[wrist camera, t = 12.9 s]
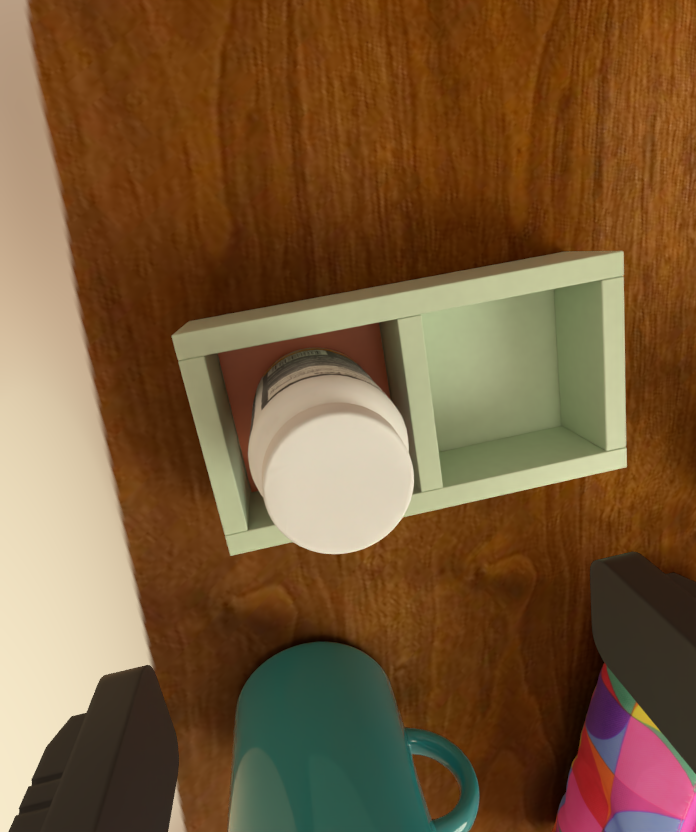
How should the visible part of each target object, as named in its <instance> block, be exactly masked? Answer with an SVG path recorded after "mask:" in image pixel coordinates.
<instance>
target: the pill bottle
mask: <svg viewBox="0 0 696 832" xmlns="http://www.w3.org/2000/svg"><path fill="white" fill-rule="evenodd" d="M248 461H249V467H250V472H251V475H252V478H253V481H254V483H255V485H256V487H257V489H258V490H259V492H260V494H261V495H262V496H263V498H264V502H265V506H266V509H267V511H268V514H269V516H270V518H271V520H272V521H273V523H274V524H275V525H276V527H277V528H278V529H279V530H280V531H281V532H282V533H283V534H284V535H285V536H286V537H287V538H288V539H290V540H291V541H293V542H294V543H296V544H297V545H299V546H301V547H303V548H306V549H308V550H311V551H315V552H318V553H324V554H343V553H350V552H355V551H358V550H361V549H364V548H366V547H369V546H371V545H373V544H375V543H376V542H378V541H380V540H381V539H382V538H384V537H385V536H386V535H387V534H389V533H390V532H391V531H392V530H393V529H394V528H395V527H396V525H397V524H398V523H399V521H400V520H401V519H402V517H403V516H404V514H405V512H406V511H407V508H408V506H409V503H410V501H411V497H412V493H413V487H414V470H413V465H412V461H411V458H410V455H409V443H408V435H407V429H406V426H405V423H404V419H403V417H402V415H401V413H400V412H399V410H398V408H397V407H396V406H395V405H394V403H393V402H392V401H391V400H390V399H389V398H388V396H387V395H386V394H385V393H384V392H383V391H382V390H381V389H380V387H379V386H378V385H377V384H376V383H375V382H374V381H373V380H372V378H371V377H370V376H369V375H368V374H367V373H366V372H365V371H364V370H363V369H362V368H361V367H360V366H359V365H358V364H357V363H356V362H355V361H353V360H352V359H351V358H349V357H347V356H346V355H344V354H342V353H340V352H337V351H334V350H331V349H325V348H305V349H300V350H297V351H294V352H291V353H289V354H287V355H285V356H283V357H282V358H280V359H279V360H277V361H276V362H275V363H274V364H273V365H272V366H271V367H270V368H269V369H268V370H267V371H266V372H265V374H264V375H263V377H262V379H261V380H260V382H259V384H258V387H257V390H256V393H255V397H254V401H253V407H252V418H251V428H250V436H249V443H248Z"/></svg>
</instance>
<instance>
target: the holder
mask: <svg viewBox="0 0 696 832" xmlns="http://www.w3.org/2000/svg"><path fill="white" fill-rule="evenodd" d="M623 275H624V252H623V251H573V252H560V253H554V254H549V255H544V256H538V257H533V258H528V259H522V260H517V261H511V262H506V263H501V264H495V265H490V266H484V267H479V268H474V269H468V270H463V271H457V272H452V273H447V274H441V275H436V276H430V277H425V278H420V279H414V280H409V281H403V282H398V283H393V284H387V285H382V286H377V287H371V288H366V289H360V290H355V291H350V292H344V293H339V294H333V295H328V296H323V297H317V298H312V299H306V300H301V301H296V302H290V303H285V304H279V305H274V306H269V307H263V308H258V309H253V310H247V311H242V312H236V313H231V314H226V315H220V316H215V317H209V318H204V319H199V320H193V321H189V322H187V323H186V324H185V325H184V326H183V327H181V328H180V329H179V330H178V331H177V332H175V333H174V334H173V335H172V340H173V344H174V348H175V351H176V355H177V359H178V360H179V362H178V363H179V366H180V370H181V374H182V378H183V381H184V385H185V389H186V393H187V396H188V400H189V404H190V407H191V411H192V415H193V419H194V422H195V426H196V430H197V434H198V437H199V441H200V445H201V449H202V452H203V456H204V460H205V463H206V467H207V471H208V475H209V478H210V482H211V486H212V490H213V493H214V497H215V501H216V504H217V508H218V512H219V516H220V519H221V523H222V527H223V531H224V534H225V538H226V542H227V546H228V549H229V553H230V555H231V556H232V555H236V554H241V553H245V552H250V551H254V550H259V549H263V548H268V547H272V546H277V545H281V544H286V543H290V542H293V541H291V540H290V539H288V538H287V537H286V536H285V535H284V534H283V533H282V532H281V531H280V530H279V529H278V528H277V527H276V525H275V524H274V523H273V521H272V520H271V518H270V516H269V514H268V511H267V509H266V506H265V502H264V498H263V496H262V495H261V494H260V492H259V490H258V489H257V487H256V485H255V483H254V481H253V478H252V475H251V472H250V467H249V461H248V443H249V436H250V428H251V418H252V407H253V401H254V397H255V393H256V390H257V387H258V384H259V382H260V380H261V379H262V377H263V375H264V374H265V372H266V371H267V370H268V369H269V368H270V367H271V366H272V365H273V364H274V363H275V362H276V361H277V360H279V359H280V358H282V357H283V356H285V355H287V354H289V353H291V352H294V351H297V350H300V349H305V348H325V349H331V350H334V351H337V352H340V353H342V354H344V355H346V356H347V357H349V358H351V359H352V360H353V361H355V362H356V363H357V364H358V365H359V366H360V367H361V368H362V369H363V370H364V371H365V372H366V373H367V374H368V375H369V376H370V377H371V378H372V380H373V381H374V382H375V383H376V384H377V385H378V386H379V387H380V389H381V390H382V391H383V392H384V393H385V394H386V395H387V396H388V398H389V399H390V400H391V401H392V402H393V403H394V405H395V406H396V407H397V408H398V410H399V412H400V413H401V415H402V417H403V419H404V423H405V426H406V429H407V435H408V443H409V455H410V458H411V461H412V465H413V470H414V487H413V493H412V497H411V501H410V503H409V506H408V508H407V511H406V512H405V514H404V516H403V517H406V516H411V515H415V514H420V513H424V512H429V511H433V510H437V509H442V508H446V507H451V506H455V505H460V504H464V503H469V502H473V501H478V500H482V499H487V498H491V497H496V496H500V495H504V494H509V493H513V492H518V491H522V490H527V489H531V488H536V487H540V486H545V485H549V484H554V483H558V482H563V481H567V480H571V479H576V478H580V477H585V476H589V475H594V474H598V473H603V472H607V471H612V470H616V469H621V468H625V467H627V448H626V395H625V328H624V277H623Z"/></svg>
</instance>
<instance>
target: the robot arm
mask: <svg viewBox="0 0 696 832" xmlns="http://www.w3.org/2000/svg"><path fill="white" fill-rule="evenodd" d="M590 589H591V618H592V633H593V638H594V641H595V644H596V647H597V650H598V652H599V654H600V656H601V658H602V660H603V661H604V663H605V664H606V665H607V667H608V668H609V669H610V671H611V672H612V673H613V674H614V675H615V677H616V678H617V679H618V680H619V681H620V683H621V684H622V685H623V686H624V688H625V689H626V690H627V691H628V692H629V694H630V695H631V696H632V697H633V698H634V700H635V701H636V702H637V703H638V705H639V706H640V707H641V708H642V709H643V711H644V712H645V713H646V714H647V715H648V717H649V718H650V719H651V720H652V722H653V723H654V724H655V725H656V726H657V728H658V729H659V730H660V731H661V733H662V734H663V735H664V736H665V737H666V739H667V740H668V741H669V742H670V743H671V745H672V746H673V747H674V748H675V750H676V751H677V752H678V753H679V754H680V756H681V757H682V758H683V759H684V760H685V762H686V763H687V764H688V765H689V767H690V768H691V769H692V770H693V771H694V773H695V774H696V582H694V581H692V580H690V579H688V578H685V577H683V576H681V575H678V574H676V573H674V572H673V573H669V574H665V573H663V572H662V571H661V570H660V569H658V568H657V567H656V566H655V565H653V564H652V563H651V562H650V561H649V560H647V559H646V558H645V557H644V556H642V555H641V554H639V553H637V552H629V553H624V554H620V555H616V556H612V557H608V558H603V559H599V560H595V561H593V562H592V564H591V567H590ZM178 766H179V753H178V743H177V737H176V733H175V729H174V726H173V723H172V721H171V718H170V715H169V712H168V709H167V706H166V703H165V700H164V697H163V694H162V691H161V689H160V686H159V683H158V680H157V677H156V674H155V672H154V670H153V668H152V667H151V666H150V665H146V666H142V667H138V668H133V669H129V670H125V671H121V672H116V673H113V674H108V675H104V676H103V677H102V678H101V679H100V681H99V683H98V685H97V688H96V690H95V693H94V695H93V698H92V700H91V703H90V705H89V708H88V711H87V713H85V714H80V715H76V716H72V717H71V718H70V719H69V720H68V721H67V723H66V724H65V725H64V726H63V728H62V729H61V730H60V731H59V732H58V734H57V735H56V736H55V737H54V738H53V740H52V741H51V742H50V743H49V744H48V746H47V747H46V749H45V751H44V753H43V756H42V758H41V760H40V763H39V765H38V767H37V769H36V771H35V774H34V776H33V778H32V786H30V787H28V789H27V791H26V794H25V796H24V799H23V801H22V803H21V805H20V807H19V815H17V816H15V818H14V821H13V823H12V825H11V828H10V830H9V832H168V829H169V823H170V817H171V810H172V805H173V799H174V793H175V787H176V782H177V776H178Z"/></svg>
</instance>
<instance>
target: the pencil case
mask: <svg viewBox="0 0 696 832" xmlns="http://www.w3.org/2000/svg"><path fill="white" fill-rule="evenodd" d="M552 832H696V774H695V773H694V771H693V770H692V769H691V768H690V767H689V765H688V764H687V763H686V762H685V760H684V759H683V758H682V757H681V756H680V754H679V753H678V752H677V751H676V750H675V748H674V747H673V746H672V745H671V743H670V742H669V741H668V740H667V739H666V737H665V736H664V735H663V734H662V733H661V731H660V730H659V729H658V728H657V726H656V725H655V724H654V723H653V722H652V720H651V719H650V718H649V717H648V715H647V714H646V713H645V712H644V711H643V709H642V708H641V707H640V706H639V705H638V703H637V702H636V701H635V700H634V698H633V697H632V696H631V695H630V694H629V692H628V691H627V690H626V689H625V688H624V686H623V685H622V684H621V683H620V681H619V680H618V679H617V678H616V677H615V675H614V674H613V673H612V672H611V671H610V669H609V668H608V667H607V665H606V664H605V663H604V664H603V666H602V668H601V671H600V674H599V678H598V682H597V685H596V687H595V690H594V692H593V695H592V698H591V701H590V705H589V709H588V712H587V715H586V719H585V723H584V726H583V728H582V732H581V737H580V745H579V749H578V755H577V756H576V757H575V758H574V760H573V762H572V765H571V768H570V772H569V776H568V781H567V788H566V793H565V794H564V796H563V798H562V800H561V802H560V805H559V809H558V813H557V817H556V822H555V825H554V827H553V829H552Z"/></svg>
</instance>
